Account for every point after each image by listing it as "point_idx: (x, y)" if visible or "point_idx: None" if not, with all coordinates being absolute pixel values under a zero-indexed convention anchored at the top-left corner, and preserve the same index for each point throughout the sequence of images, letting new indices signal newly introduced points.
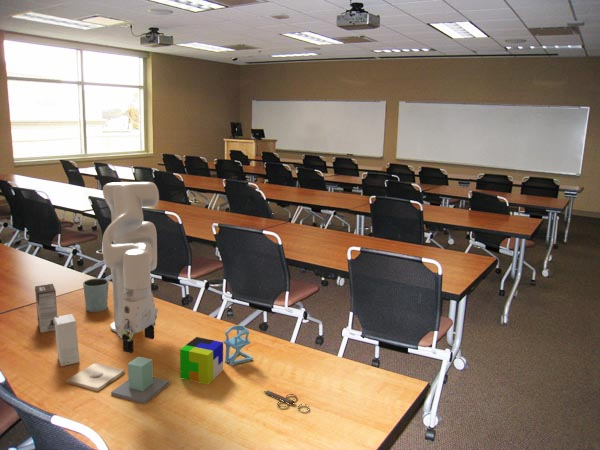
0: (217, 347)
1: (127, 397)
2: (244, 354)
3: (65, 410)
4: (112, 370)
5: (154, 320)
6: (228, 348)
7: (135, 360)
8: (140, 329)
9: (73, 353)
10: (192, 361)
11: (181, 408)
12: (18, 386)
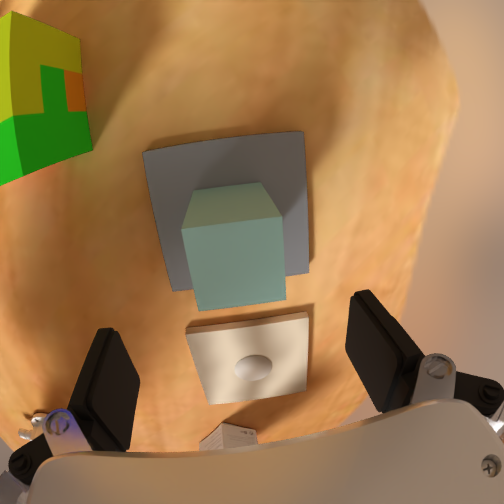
0: None
1: (306, 206)
2: None
3: (400, 299)
4: (209, 356)
5: (57, 473)
6: None
7: (241, 294)
8: (400, 437)
9: (234, 445)
10: (41, 95)
11: (257, 5)
12: (346, 417)
